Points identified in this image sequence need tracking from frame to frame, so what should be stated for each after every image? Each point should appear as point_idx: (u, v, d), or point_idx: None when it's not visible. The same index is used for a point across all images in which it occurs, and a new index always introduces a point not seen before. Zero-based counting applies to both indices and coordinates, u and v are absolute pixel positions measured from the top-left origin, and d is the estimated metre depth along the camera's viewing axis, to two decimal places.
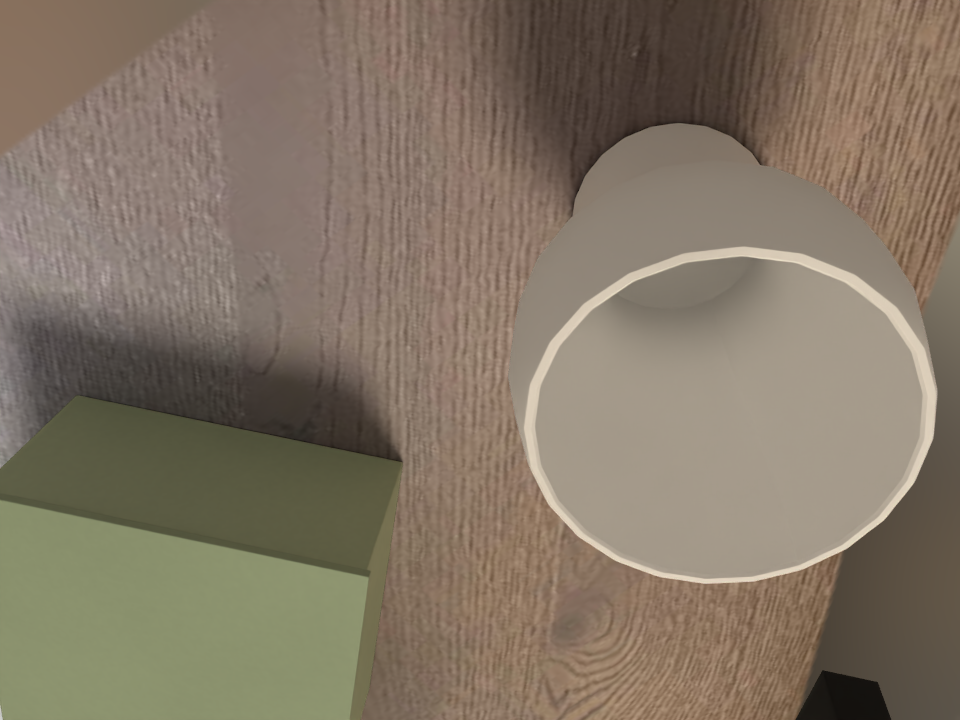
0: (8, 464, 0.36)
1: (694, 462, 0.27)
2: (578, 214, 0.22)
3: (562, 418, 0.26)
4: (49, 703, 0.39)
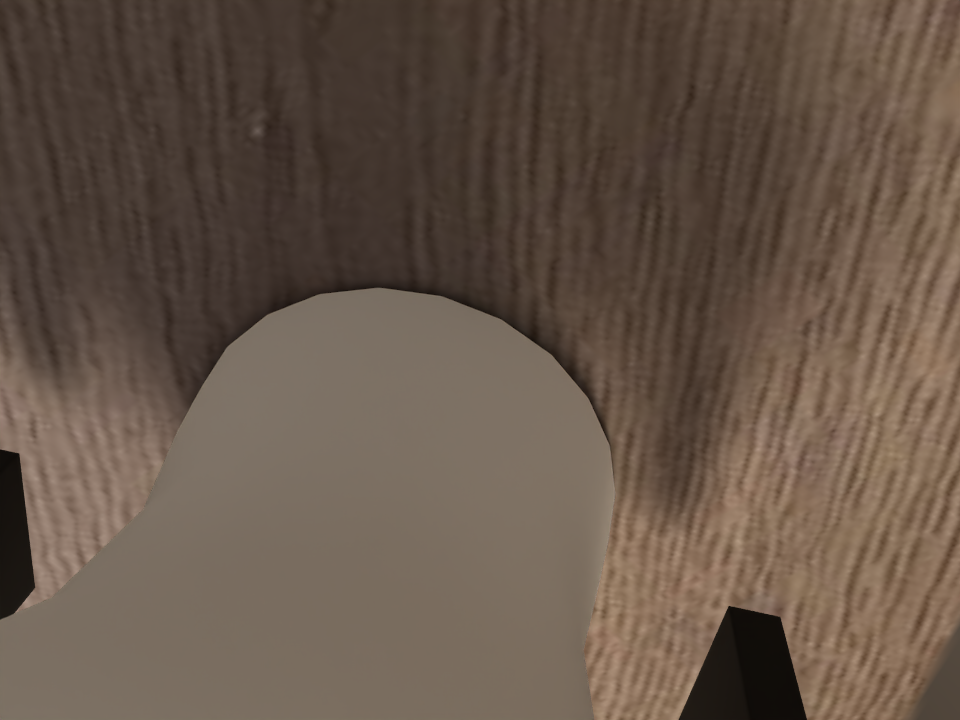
0: None
1: None
2: None
3: None
4: None
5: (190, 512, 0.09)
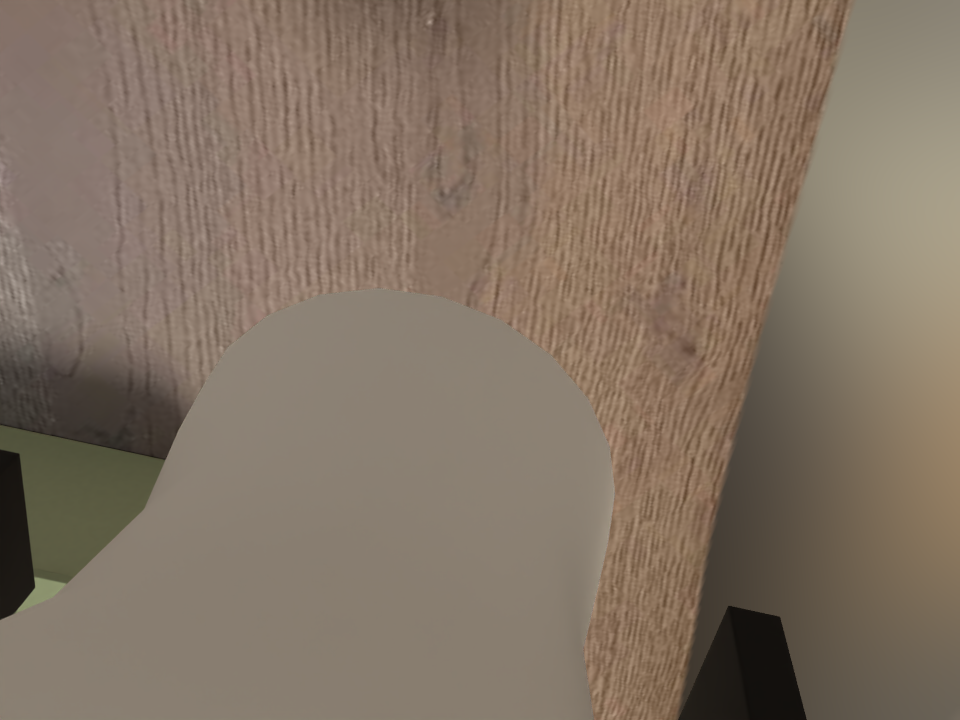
0: None
1: None
2: None
3: None
4: None
5: (192, 513, 0.09)
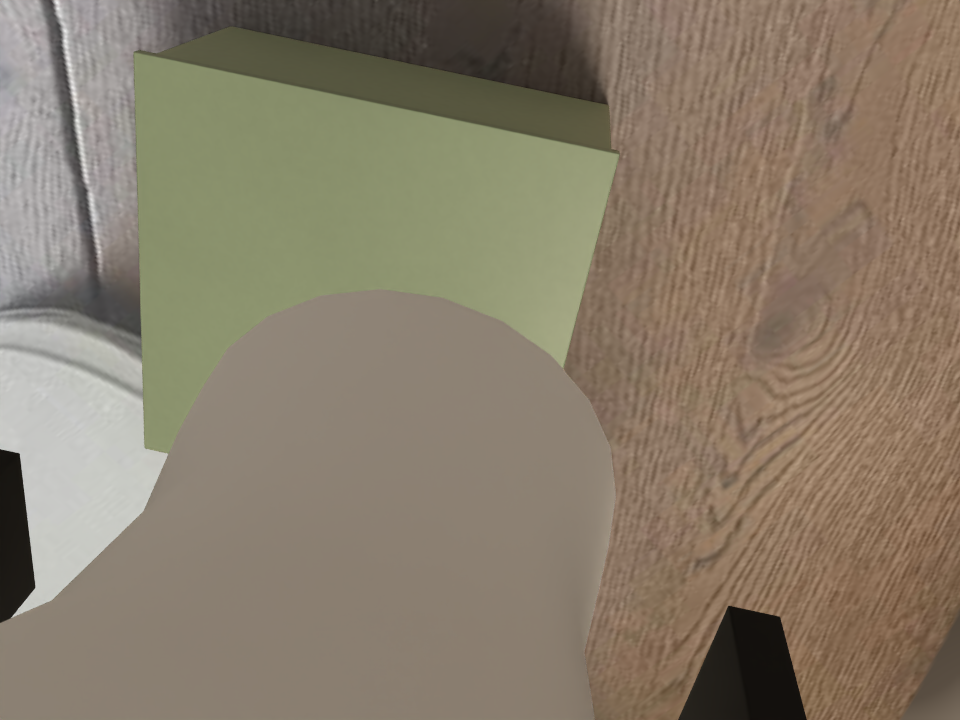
0: (174, 49, 0.30)
1: None
2: None
3: None
4: (201, 371, 0.34)
5: (192, 515, 0.09)
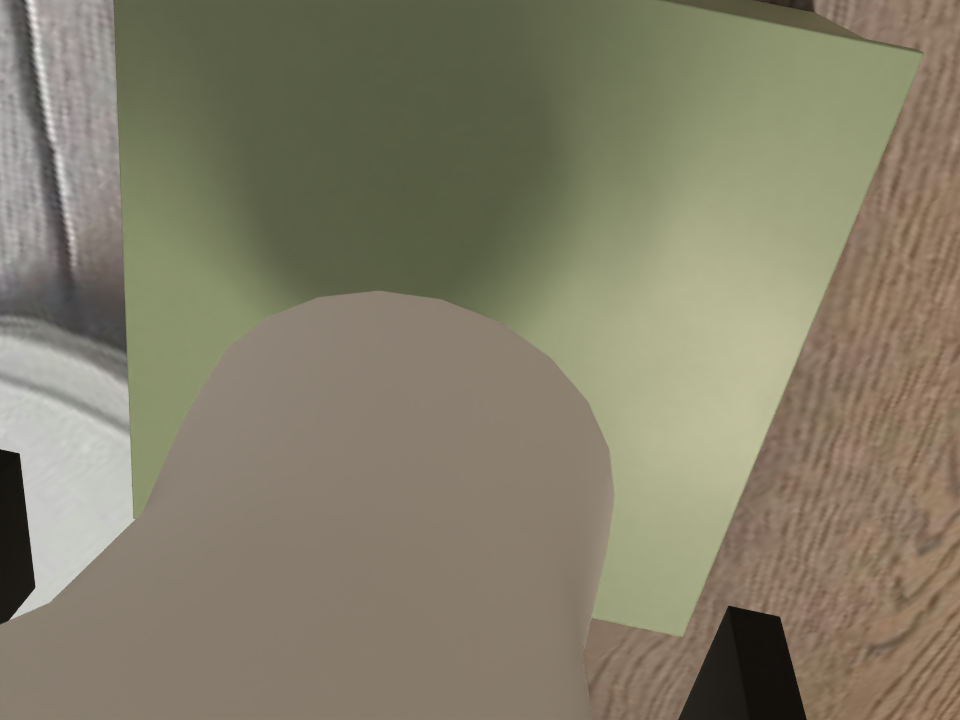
0: None
1: None
2: None
3: None
4: None
5: (189, 517, 0.09)
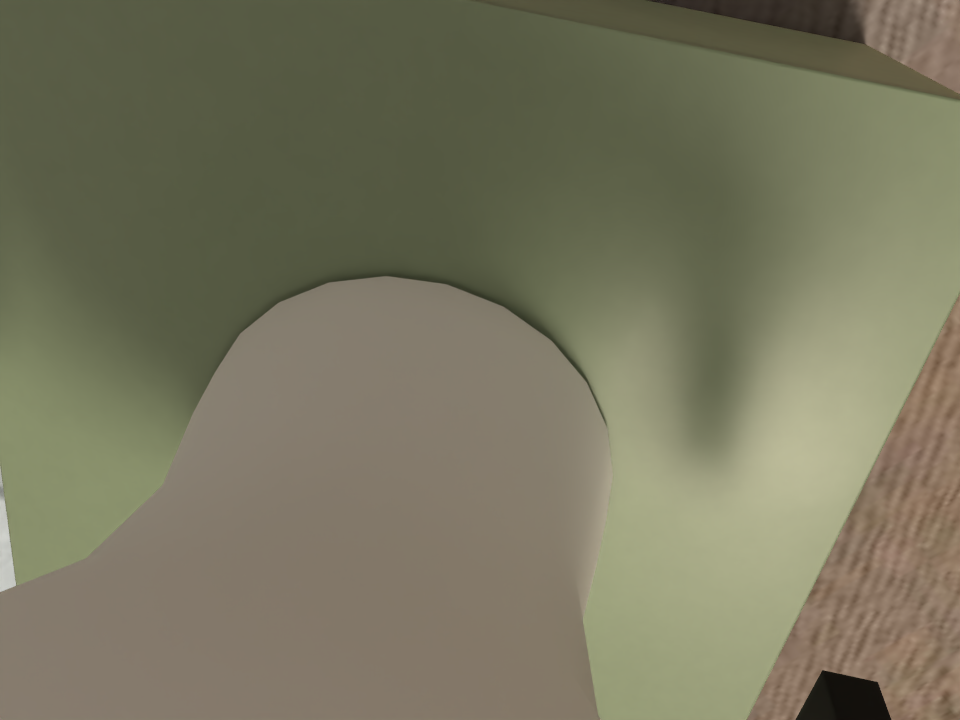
0: None
1: None
2: None
3: None
4: None
5: (212, 482, 0.10)
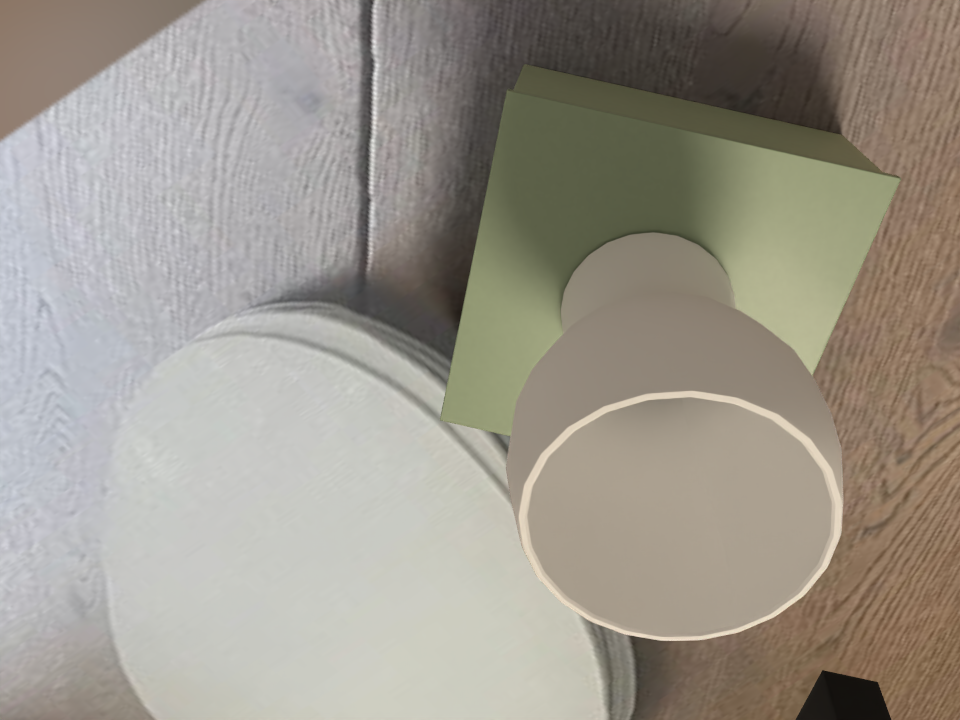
0: (519, 86, 0.37)
1: (658, 531, 0.32)
2: (566, 338, 0.28)
3: (549, 494, 0.31)
4: (506, 353, 0.40)
5: (633, 290, 0.32)
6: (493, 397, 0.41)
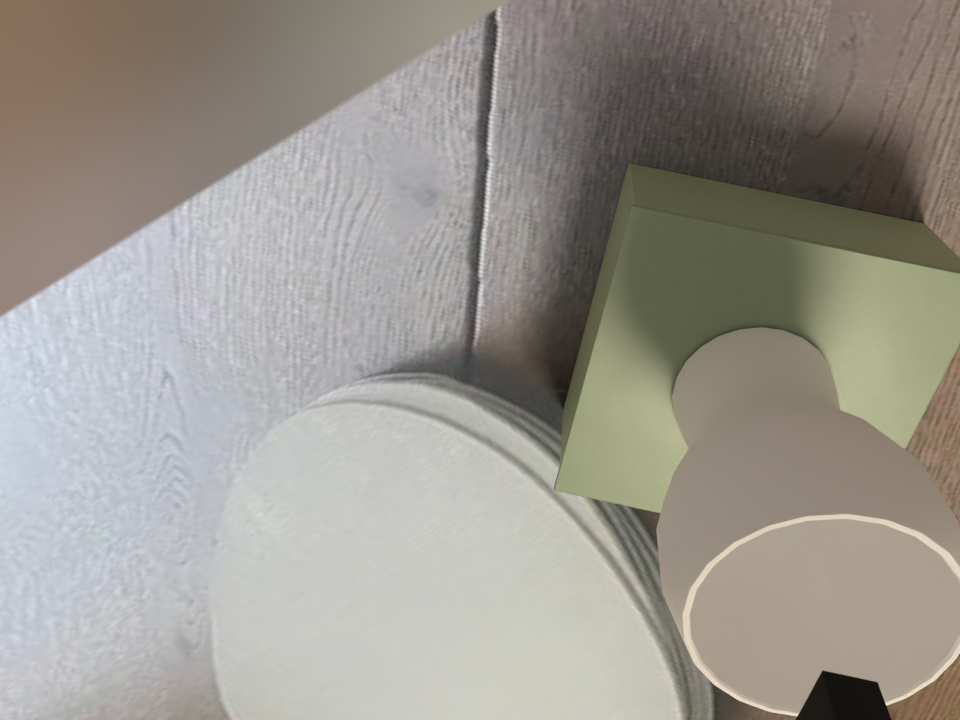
0: (636, 196, 0.40)
1: (782, 608, 0.36)
2: (713, 450, 0.31)
3: None
4: (619, 432, 0.44)
5: (756, 390, 0.36)
6: (605, 470, 0.45)
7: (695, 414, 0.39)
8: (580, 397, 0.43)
